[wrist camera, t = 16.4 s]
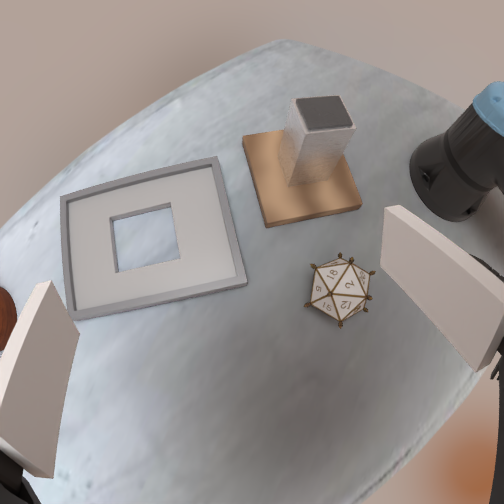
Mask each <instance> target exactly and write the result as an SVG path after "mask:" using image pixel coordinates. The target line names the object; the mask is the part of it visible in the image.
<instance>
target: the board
mask: <svg viewBox="0 0 504 504" xmlns="http://www.w3.org/2000/svg"><path fill="white" fill-rule="evenodd" d="M283 132H284V130H279V131H272V132H265V133H258V134H252V135H246V136H243V141H242V144H243V148H244V151H245V155H246V158H247V162H248V165H249V169H250V172H251V176H252V180H253V183H254V187H255V190H256V194H257V198H258V201H259V205H260V208H261V212H262V216H263V219H264V223H265V227H266V228H270V227H274V226H279V225H284V224H289V223H293V222H298V221H303V220H308V219H313V218H318V217H322V216H327V215H332V214H337V213H342V212H347V211H352V210H357V209H359V208H360V207H361V205H362V204H363V203H362V201H361V198H360V195H359V193H358V190H357V187H356V185H355V182H354V179H353V177H352V174H351V172H350V169H349V167H348V164H347V162H346V160H345V157H344V155H343V154H342V156H341V158H340V159H339V161H338V163H337V165H336V166H335V168H334V170H333V172H332V174H331V175H330V177H329V179H328V180H327V181H321V182H315V183H309V184H303V185H297V186H292V187H287V184H286V181H285V178H284V175H283V172H282V169H281V166H280V162H279V159H278V153H279V149H280V145H281V140H282V136H283Z"/></svg>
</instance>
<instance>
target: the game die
mask: <svg viewBox="0 0 504 504" xmlns="http://www.w3.org/2000/svg"><path fill="white" fill-rule="evenodd" d="M338 257H339V259H336V260H334V261H331V262H329V263H326V264H324V265H321V266H319V267H316V265H314V264H310V265H311V267H312V268H313V269H315V272H314V279H313V286H312V292H311V299H310V302H309V303H308V302H307V303H305V305H304V307H307V308H308V307H309V306H310V305H312V306H314V307H316V308H317V309H319V310H321V311H322V312H324V313H326V314H327V315H329V316H331V317H332V318H334V319H336V320H337V321H339V325H338V326H339V328H340V329H341V327H342V326H343V325H342V324H343V323H342V321H344V320H345V319H347V318H349V317H351V316H352V315H354V314H356V313H357V312H359V311H361V310H362V309H363V310H364V311H365V312H368V309H367V308H365V304H366V300H367V299H368V300H372V297H371V296H370V295H368V289H369V281H370V275H373V274H375V272H376V271H370V273H368V272H366V271H365V270H363V269H361V268H360V267H358V266H356V265H355V264H353V262H354V259H353V257H351V258H350V260H349V261H347V260H344V259H342V254H341V253H339V254H338Z"/></svg>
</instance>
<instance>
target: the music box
mask: <svg viewBox="0 0 504 504" xmlns="http://www.w3.org/2000/svg"><path fill="white" fill-rule="evenodd" d="M16 323H17V314H16V308H15V304H14V302H13V299H12V297H11V296H10V294H9V293H8V292H7V291H6V290H5V289H3V288H2V287H0V351H2V350H4V349H5V347H6V345H7V342H8V340H9V338H10V336H11V333H12V331H13V329H14V327H15V325H16Z"/></svg>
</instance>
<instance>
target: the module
mask: <svg viewBox="0 0 504 504" xmlns="http://www.w3.org/2000/svg"><path fill="white" fill-rule="evenodd" d="M356 129H357V128H356V126H355V124H354V122H353V120H352V118H351V116H350V114H349V112H348V110H347V108H346V106H345V104H344V102H343V100H342V98H341V96H340V95H334V96H318V97H306V98H295V99H291V102H290V107H289V111H288V115H287V119H286V124H285V128H284V132H283V136H282V140H281V145H280V149H279V153H278V159H279V162H280V166H281V169H282V172H283V175H284V178H285V181H286V184H287V187H292V186H297V185H303V184H309V183H315V182H321V181H327V180H328V179H329V177H330V175H331V174H332V172H333V170H334V168H335V166H336V165H337V163H338V161H339V159H340V158H341V156H342V154H343V152H344V150H345V149H346V147H347V145H348V143H349V141H350V140H351V138H352V136H353V134H354V132H355V131H356Z"/></svg>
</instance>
